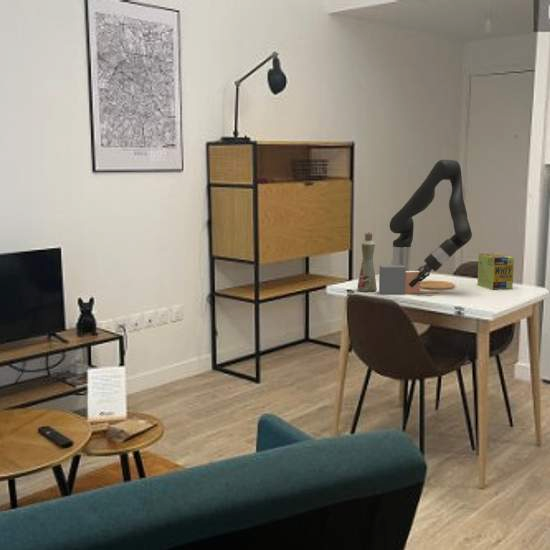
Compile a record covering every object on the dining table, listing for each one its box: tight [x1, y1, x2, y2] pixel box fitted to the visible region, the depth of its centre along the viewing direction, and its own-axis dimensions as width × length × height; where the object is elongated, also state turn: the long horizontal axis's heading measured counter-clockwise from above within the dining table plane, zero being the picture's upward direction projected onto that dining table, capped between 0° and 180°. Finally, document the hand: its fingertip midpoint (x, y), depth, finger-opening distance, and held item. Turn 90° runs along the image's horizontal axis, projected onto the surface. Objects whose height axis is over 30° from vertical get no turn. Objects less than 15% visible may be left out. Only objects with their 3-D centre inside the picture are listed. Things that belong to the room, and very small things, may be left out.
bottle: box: [357, 231, 378, 293], centre depth 316 cm, size 9×9×28 cm
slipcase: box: [378, 264, 406, 296], centre depth 310 cm, size 11×6×13 cm, turn 89°
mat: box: [418, 290, 446, 297], centre depth 311 cm, size 10×10×1 cm
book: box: [405, 270, 421, 295], centre depth 311 cm, size 14×4×10 cm, turn 89°
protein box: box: [477, 253, 515, 291], centre depth 326 cm, size 10×15×16 cm
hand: (409, 285), depth 311 cm, fingers closed on book, 3 cm apart
